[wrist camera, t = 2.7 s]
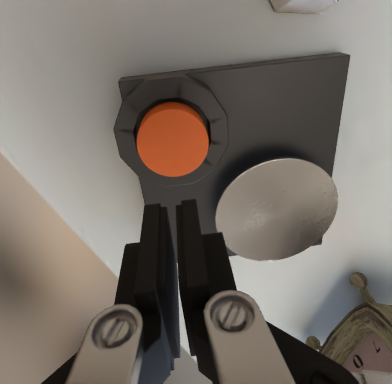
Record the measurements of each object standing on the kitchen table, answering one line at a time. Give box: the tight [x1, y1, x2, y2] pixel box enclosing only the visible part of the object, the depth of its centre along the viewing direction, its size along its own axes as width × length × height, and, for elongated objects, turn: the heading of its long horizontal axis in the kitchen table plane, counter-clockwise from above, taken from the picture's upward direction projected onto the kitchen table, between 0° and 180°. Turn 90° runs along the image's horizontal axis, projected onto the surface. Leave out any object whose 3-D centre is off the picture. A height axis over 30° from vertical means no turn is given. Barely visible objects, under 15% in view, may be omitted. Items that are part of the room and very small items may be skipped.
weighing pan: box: [215, 156, 338, 261], centre depth 23 cm, size 9×9×1 cm
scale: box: [114, 53, 350, 263], centre depth 23 cm, size 16×16×3 cm
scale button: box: [137, 102, 209, 177], centre depth 19 cm, size 4×4×2 cm
